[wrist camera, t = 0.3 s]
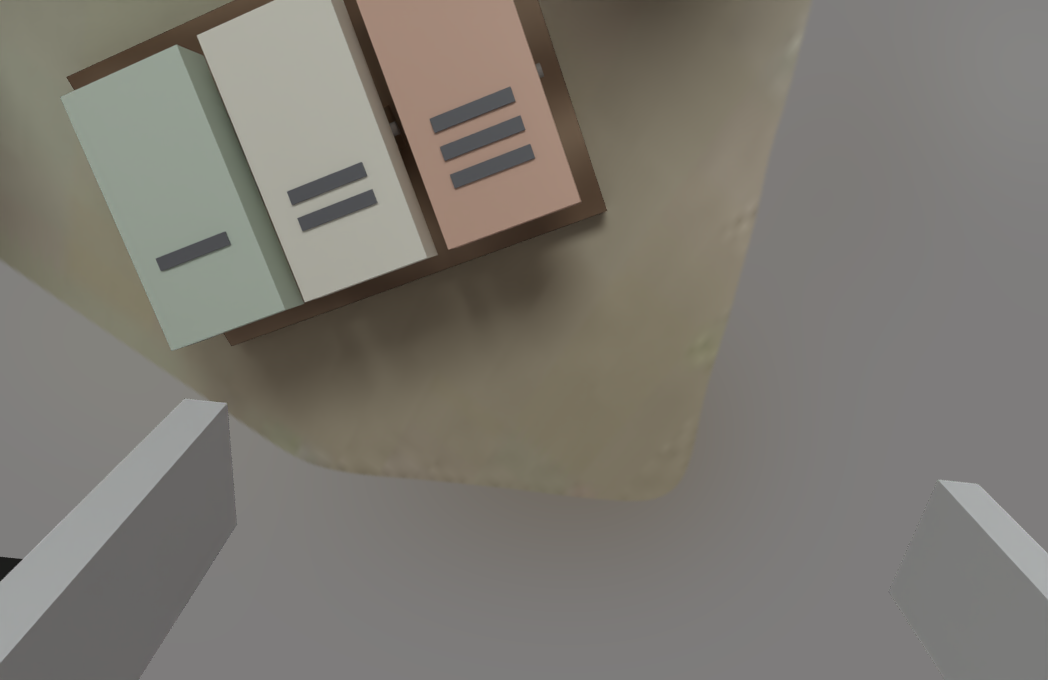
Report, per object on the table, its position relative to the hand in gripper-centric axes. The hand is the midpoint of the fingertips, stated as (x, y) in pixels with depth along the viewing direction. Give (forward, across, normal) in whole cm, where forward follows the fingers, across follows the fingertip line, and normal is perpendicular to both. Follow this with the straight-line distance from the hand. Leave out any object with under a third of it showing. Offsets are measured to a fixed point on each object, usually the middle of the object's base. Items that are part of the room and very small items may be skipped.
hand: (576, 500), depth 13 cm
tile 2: (+21, -10, +2) cm, 24 cm away
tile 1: (+21, -17, -1) cm, 27 cm away
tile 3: (+21, -4, +5) cm, 22 cm away
